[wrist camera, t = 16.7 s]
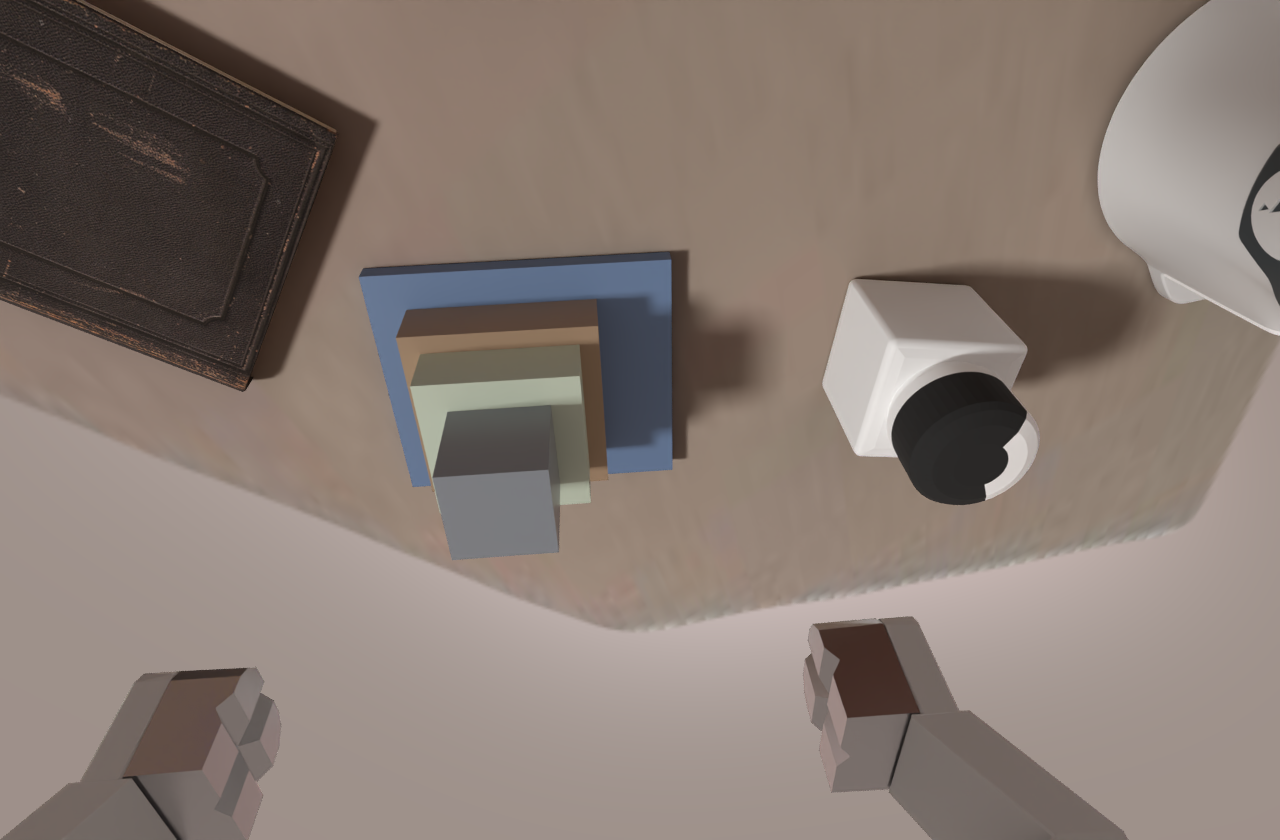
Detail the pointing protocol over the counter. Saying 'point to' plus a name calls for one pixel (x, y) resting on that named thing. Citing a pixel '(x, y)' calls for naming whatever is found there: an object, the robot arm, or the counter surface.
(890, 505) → the counter surface
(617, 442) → the tower
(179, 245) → the hardcover book
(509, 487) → the slate block
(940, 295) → the medicine bottle
